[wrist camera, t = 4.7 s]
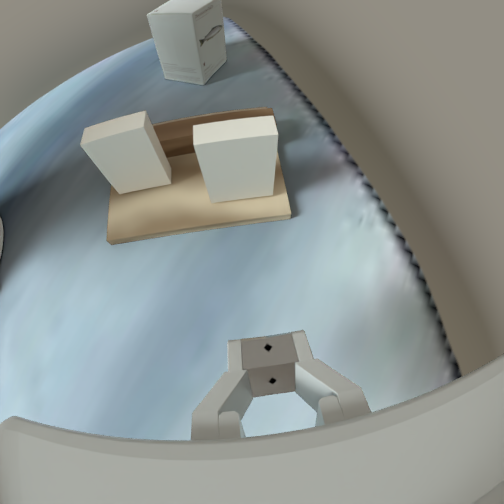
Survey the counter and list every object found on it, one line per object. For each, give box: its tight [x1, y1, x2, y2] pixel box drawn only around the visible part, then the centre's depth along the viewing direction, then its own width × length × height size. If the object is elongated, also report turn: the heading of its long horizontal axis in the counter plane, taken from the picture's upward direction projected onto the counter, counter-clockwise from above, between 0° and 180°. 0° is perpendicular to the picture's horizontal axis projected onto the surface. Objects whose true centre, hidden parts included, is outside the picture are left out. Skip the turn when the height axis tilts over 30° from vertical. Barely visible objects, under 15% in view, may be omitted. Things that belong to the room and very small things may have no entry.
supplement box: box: [147, 0, 227, 85], centre depth 31 cm, size 7×7×13 cm
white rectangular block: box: [193, 116, 278, 203], centre depth 24 cm, size 2×6×9 cm, turn 98°
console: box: [107, 107, 291, 245], centre depth 28 cm, size 12×19×4 cm, turn 98°
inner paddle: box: [80, 110, 171, 194], centre depth 24 cm, size 2×6×9 cm, turn 98°
